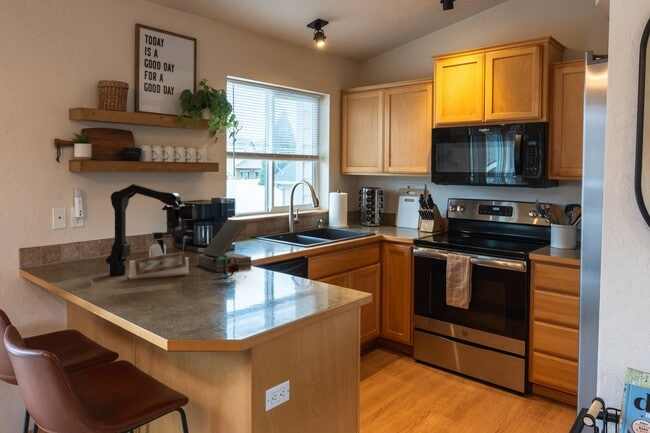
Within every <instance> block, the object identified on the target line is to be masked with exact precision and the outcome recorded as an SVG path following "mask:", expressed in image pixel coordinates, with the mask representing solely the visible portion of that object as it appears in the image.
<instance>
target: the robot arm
mask: <svg viewBox="0 0 650 433" xmlns="http://www.w3.org/2000/svg"><path fill="white" fill-rule="evenodd" d="M137 194H138V195H142V196H145V197H149V198H152V199H155V200H158V201H160V202H161V203H162V204H163V203H164V204H165V205H164V206H163V207H162V208H161V210H162V211H165V212H166V216H165V217H166V224H165V225H166V232H165V233H163V232H162V231H153V232H152V233H151V236H150V237H151V239H153V240H154V241H156V242H157V244H159V245H160V248H161V250H162V253H163V254H164V239H163V238H171V237H172V238H176V237H180V238H181V237H182V252H185V253H186V249H187V246H188V244H189V241H190V240H192V239H193V238H195V237H196V234H195V231H194V230H191V229H190V230H187V229H188V228H187V227H188V226H187V225H181V222H180V219H181V220H182V221H183V220H184V221H186V220H188V221H195V220H196V218H197V211H196V210H197V209H196V208H195V205H194V204H191V205H185V204H184V202H183V201H182V199H181V196H180V194H179V193H177V192H169V191H168V192H167V191H160V190H157V189H154V188H151V187H146V186H144V185H143V186H142V185H140V184H137V183H134V184H133V183H132V184H130V185H129V186H127V187H124V188H123V189H120V190H117V191H114V192H112V193H111V194H110V203H111V207H112V208H113V211H114V242H113V243H112V247H111V251H110V254H109V256H107V258H105V262H106V264H108V277H109V278H110V277H124V276H126V265H125V263H124V262H126V261H127V258H128V257H129V256H130V253H131V244H130V243H128V242H127V241H126V238H127V237H126V235H127V234H126V231H127V230H126V222H127V221H126V218H127V217H126V216H127V215H126V211H127V208H128V206H129V202H130V199H132V198H133V197H134V196H136V195H137Z"/></svg>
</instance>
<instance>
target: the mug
mask: <svg viewBox="0 0 650 433" xmlns="http://www.w3.org/2000/svg"><path fill="white" fill-rule="evenodd" d="M163 244H164V243H163ZM166 250H167V245H166V244H164V254H163V253H162V250H161V248H160V245H159V243H155V244H151V246H150V247H149V250H148V257H154V256H160V255H166V254H167V253H166V252H167V251H166Z"/></svg>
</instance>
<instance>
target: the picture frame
mask: <svg viewBox="0 0 650 433" xmlns="http://www.w3.org/2000/svg"><path fill="white" fill-rule="evenodd" d="M185 253H186V251H185V252H183V251H179V252H173V253H169V254H168V253H166V255H160V256H154V257H152V256H151V257H149V256H148V257H144V258H143V257H142V258H137V259H134V261H135V266H136V274H137V275H142V274H148V273H153V272H159V271H164V270H170V269H176V268H181V267H186V261H185V257H186V254H185Z"/></svg>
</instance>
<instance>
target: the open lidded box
mask: <svg viewBox="0 0 650 433" xmlns="http://www.w3.org/2000/svg"><path fill="white" fill-rule="evenodd" d="M247 224H248V223H247V222H246V221H245V220H239V219H238V220H237V219H227V220H226V221H225V223H223V225H222V226H221V228H220V229H219V230H218V232H217V233H216V235H215V236H214V237H213V239H212V240H211V241H210V243H209V244H208V245H207V247H206V248H205V249H204V251H202V253H203V254H198V257H197V258H198V264H197V265H199V266H201V267H203V268H206V269H208V270H210V271H212V272H213V271H214V272H215V273H217V272H218V273H224V272H223V267H222V266H227V267H226V268H225V272H229V271H228V269H229V266H232V265H231V264H228V265H223V264H217V262H216V263H214V262H213V259H214V258H216V259H218V258H219V257H223V256H224V255H226V256H227V257H231V256H232V257H235V258H236V257H239V262H238V266H239V269H242V270H247V269H246V268H249V269H252V256H248V255H245V254H239V253H234V252H228V251H229V249H230V248H231V247H232V246H233V244H234V242H235V241H236V239H238V237H239V235H240V234H241V233H242V231H243V230H244V228H245V227H247V226H246V225H247ZM235 264H237V263H235Z"/></svg>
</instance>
